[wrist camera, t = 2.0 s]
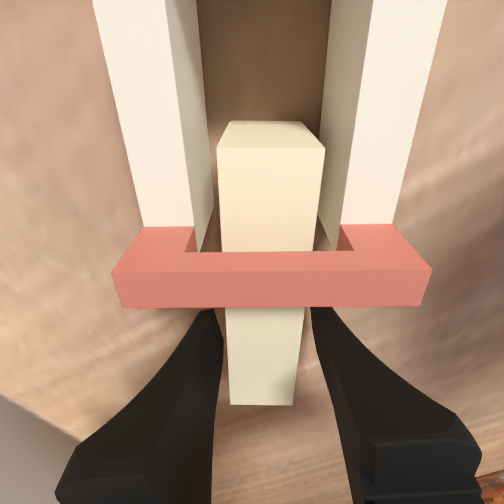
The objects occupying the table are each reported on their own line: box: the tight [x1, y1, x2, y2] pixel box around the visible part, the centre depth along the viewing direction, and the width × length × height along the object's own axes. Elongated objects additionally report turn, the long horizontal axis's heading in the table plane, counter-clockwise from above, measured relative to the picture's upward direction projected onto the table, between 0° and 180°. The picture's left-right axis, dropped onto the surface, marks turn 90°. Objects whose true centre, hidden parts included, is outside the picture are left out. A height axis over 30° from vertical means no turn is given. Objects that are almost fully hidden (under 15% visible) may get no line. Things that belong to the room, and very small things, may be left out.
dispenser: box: [92, 0, 447, 308], centre depth 7 cm, size 7×8×6 cm
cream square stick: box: [216, 121, 325, 405], centre depth 11 cm, size 3×10×4 cm, turn 0°
